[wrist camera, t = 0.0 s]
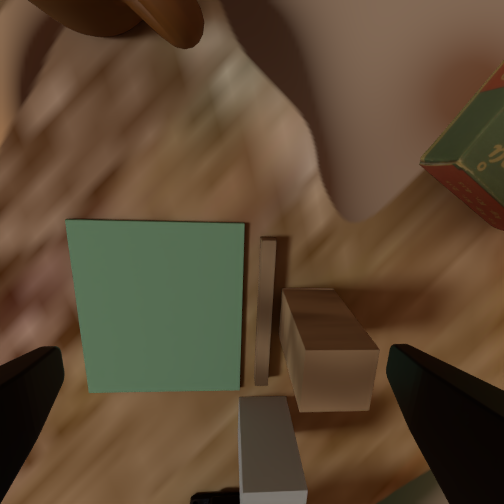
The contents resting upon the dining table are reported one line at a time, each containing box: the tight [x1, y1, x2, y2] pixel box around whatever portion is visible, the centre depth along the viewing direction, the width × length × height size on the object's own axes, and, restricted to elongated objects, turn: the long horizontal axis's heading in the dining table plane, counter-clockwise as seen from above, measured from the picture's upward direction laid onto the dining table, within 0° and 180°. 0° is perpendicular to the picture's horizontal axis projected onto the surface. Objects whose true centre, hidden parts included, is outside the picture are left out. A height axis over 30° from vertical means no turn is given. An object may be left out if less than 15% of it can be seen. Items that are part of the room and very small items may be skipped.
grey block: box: [238, 396, 308, 504], centre depth 24 cm, size 4×4×8 cm
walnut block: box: [279, 288, 380, 412], centre depth 21 cm, size 4×4×8 cm
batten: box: [254, 237, 276, 386], centre depth 24 cm, size 12×1×1 cm, turn 178°
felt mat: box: [65, 219, 244, 393], centre depth 24 cm, size 14×12×1 cm
